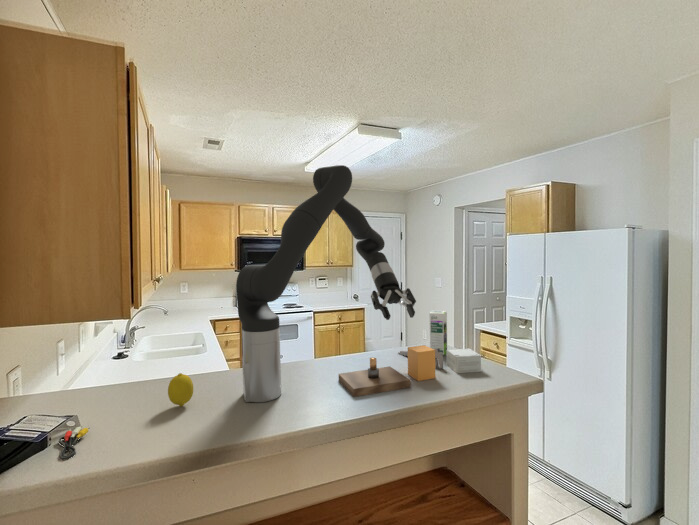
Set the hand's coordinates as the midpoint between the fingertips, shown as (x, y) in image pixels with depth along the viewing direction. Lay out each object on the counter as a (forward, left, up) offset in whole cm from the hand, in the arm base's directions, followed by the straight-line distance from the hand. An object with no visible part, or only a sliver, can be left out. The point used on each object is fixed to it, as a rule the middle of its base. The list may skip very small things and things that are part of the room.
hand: (400, 317), depth 114 cm
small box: (+15, -11, -15) cm, 24 cm away
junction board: (-15, -12, -15) cm, 24 cm away
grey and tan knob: (-15, -12, -13) cm, 23 cm away
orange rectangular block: (0, -12, -15) cm, 19 cm away
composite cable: (-82, -18, -16) cm, 85 cm away
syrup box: (+18, +6, -15) cm, 24 cm away
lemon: (-63, -7, -15) cm, 65 cm away
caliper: (+7, +1, -15) cm, 17 cm away
